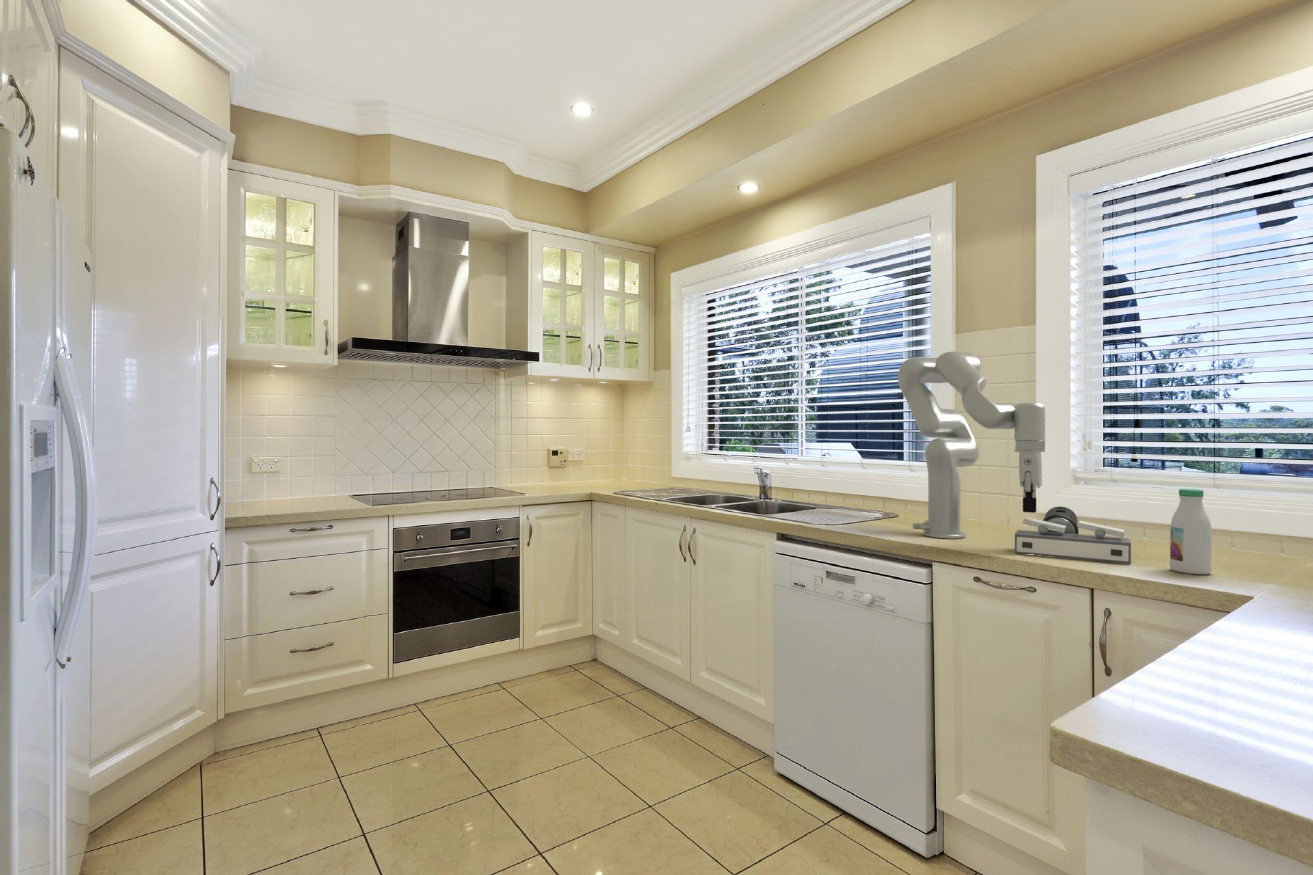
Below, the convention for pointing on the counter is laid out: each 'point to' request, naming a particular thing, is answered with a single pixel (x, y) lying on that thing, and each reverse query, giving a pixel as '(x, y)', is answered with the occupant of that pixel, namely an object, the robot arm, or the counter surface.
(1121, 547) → the switch box
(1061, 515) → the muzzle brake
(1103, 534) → the switch
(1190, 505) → the milk bottle
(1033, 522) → the switch
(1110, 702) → the counter surface
